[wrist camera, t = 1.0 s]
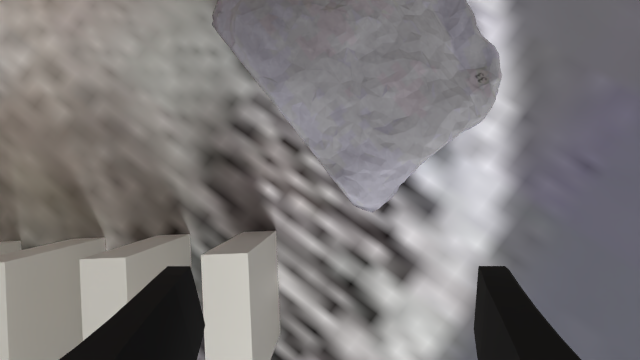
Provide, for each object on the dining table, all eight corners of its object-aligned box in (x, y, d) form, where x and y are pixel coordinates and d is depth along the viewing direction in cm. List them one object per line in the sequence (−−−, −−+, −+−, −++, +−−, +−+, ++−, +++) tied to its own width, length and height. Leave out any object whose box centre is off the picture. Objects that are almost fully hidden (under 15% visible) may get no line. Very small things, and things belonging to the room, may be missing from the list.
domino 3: (280, 333, 26) (254, 401, 18) (247, 335, 27) (207, 402, 19) (276, 230, 26) (247, 253, 18) (243, 232, 27) (200, 255, 19)
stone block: (353, -76, 28) (198, 36, 27) (376, -138, 24) (190, -7, 22) (497, 103, 28) (352, 226, 27) (549, 78, 24) (377, 225, 22)
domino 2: (194, 336, 27) (131, 404, 19) (161, 337, 27) (85, 405, 19) (190, 234, 27) (125, 257, 19) (157, 235, 27) (79, 259, 19)
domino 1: (109, 339, 27) (11, 407, 19) (77, 340, 27) (-35, 408, 19) (105, 237, 27) (4, 261, 19) (73, 238, 27) (-41, 263, 19)
